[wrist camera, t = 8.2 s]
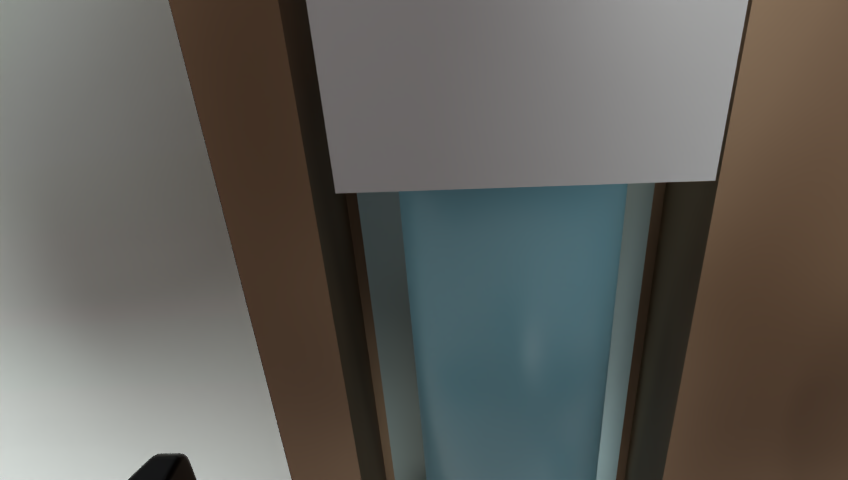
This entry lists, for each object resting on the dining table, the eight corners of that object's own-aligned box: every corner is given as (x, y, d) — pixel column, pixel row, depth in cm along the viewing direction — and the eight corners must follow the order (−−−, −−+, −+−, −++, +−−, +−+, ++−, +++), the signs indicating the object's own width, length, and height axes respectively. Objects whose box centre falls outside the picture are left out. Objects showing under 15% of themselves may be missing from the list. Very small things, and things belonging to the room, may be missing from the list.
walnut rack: (1575, -376, 7) (2145, -468, 5) (987, 553, 17) (1081, 688, 14) (203, -258, 9) (96, -284, 6) (358, 548, 18) (341, 672, 15)
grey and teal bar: (582, 567, 16) (610, 748, 13) (428, 566, 16) (419, 743, 13) (661, -200, 8) (785, -200, 5) (349, -176, 8) (280, -163, 5)
